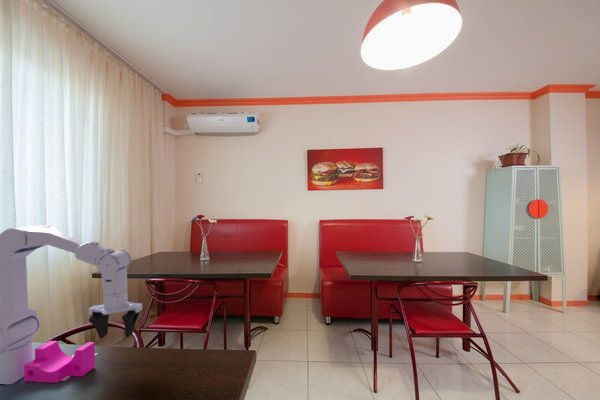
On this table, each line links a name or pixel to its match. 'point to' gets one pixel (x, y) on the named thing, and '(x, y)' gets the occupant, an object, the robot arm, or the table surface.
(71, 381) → the table surface
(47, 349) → the toy block
